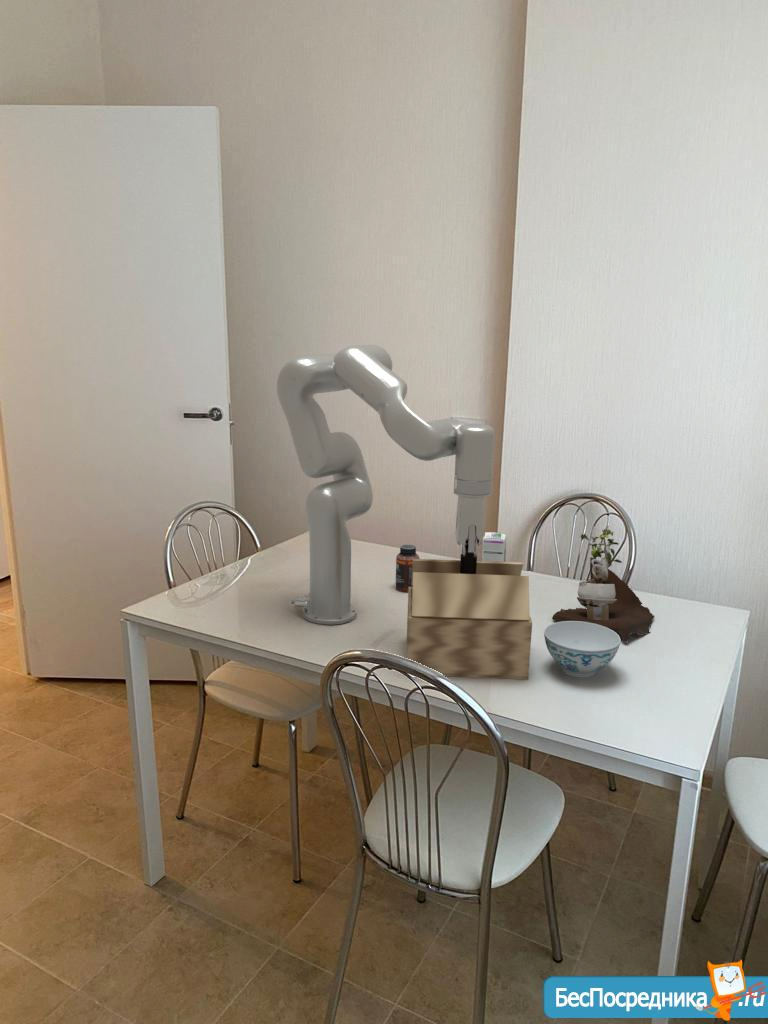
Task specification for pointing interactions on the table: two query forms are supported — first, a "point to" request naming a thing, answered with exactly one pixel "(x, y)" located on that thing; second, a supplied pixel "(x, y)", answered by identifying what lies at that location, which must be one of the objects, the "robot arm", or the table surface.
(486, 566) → the back flap
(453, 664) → the carton
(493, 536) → the syrup box
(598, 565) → the potted plant
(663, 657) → the table surface
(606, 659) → the chinaware
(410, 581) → the supplement bottle
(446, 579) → the front flap
